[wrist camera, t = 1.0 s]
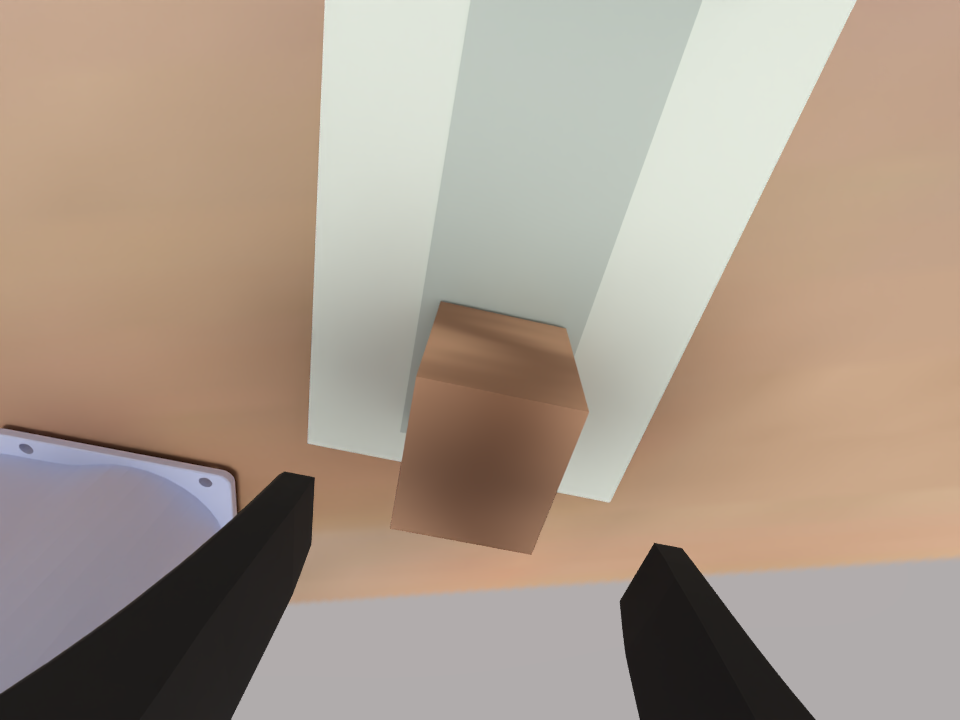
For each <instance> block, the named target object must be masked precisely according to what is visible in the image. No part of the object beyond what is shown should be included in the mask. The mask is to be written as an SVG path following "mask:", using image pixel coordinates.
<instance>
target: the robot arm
mask: <svg viewBox="0 0 960 720" xmlns="http://www.w3.org/2000/svg"><path fill="white" fill-rule="evenodd" d="M314 480H315V477H310V476H305V475H299V474H294V473H289V472H283V473H281V474H279V475H278V476H277V477H276V478H275V479H274V480H273V481H272V482H271V483H270V484H269V485H268V486H267V487H266V488H265V489H264V490H263V491H262V492H261V493H260V494H259V495H258V496H256V497H255V498H254V499H253V500H252V501H251V502H250V503H249V504H248V505H247V506H246V507H245V508H244V509H242V510H241V511H240V512H239V513H238V514H237V506H236V490H235V480H234V477H233V476H232V475H231V474H230V473H229V472H227V471H225V470H221V469H216V468H210V467H205V466H200V465H194V464H189V463H184V462H179V461H173V460H168V459H163V458H158V457H152V456H147V455H142V454H136V453H131V452H126V451H121V450H115V449H110V448H105V447H99V446H94V445H89V444H84V443H78V442H73V441H68V440H63V439H57V438H52V437H47V436H41V435H36V434H31V433H26V432H20V431H15V430H10V429H2V428H0V720H231V718H232V716H233V714H234V712H235V710H236V708H237V706H238V704H239V702H240V700H241V698H242V696H243V694H244V692H245V690H246V688H247V686H248V684H249V682H250V680H251V678H252V676H253V674H254V672H255V670H256V668H257V665H258V664H259V662H260V660H261V657H262V656H263V654H264V652H265V650H266V648H267V645H268V643H269V641H270V639H271V637H272V635H273V633H274V631H275V629H276V627H277V625H278V623H279V621H280V619H281V617H282V615H283V613H284V611H285V609H286V607H287V605H288V603H289V601H290V599H291V597H292V594H293V592H294V589H295V587H296V584H297V581H298V579H299V576H300V574H301V571H302V568H303V565H304V563H305V560H306V557H307V555H308V552H309V549H310V546H311V540H312V520H313V500H314ZM620 609H621V619H622V629H623V638H624V646H625V654H626V659H627V664H628V668H629V673H630V678H631V682H632V686H633V691H634V696H635V700H636V704H637V709H638V713H639V718H640V720H815V719H814V717H813V716H812V715H811V714H810V713H809V711H808V710H807V709H806V708H805V707H804V705H803V704H802V703H801V702H800V701H799V699H798V698H797V697H796V696H795V694H794V693H793V692H792V691H791V690H790V689H789V687H788V686H787V685H786V683H785V682H784V681H783V680H782V679H781V677H780V676H779V675H778V673H777V672H776V671H775V670H774V668H773V667H772V666H771V665H770V664H769V662H768V661H767V660H766V658H765V657H764V656H763V654H762V653H761V652H760V651H759V649H758V648H757V647H756V646H755V644H754V643H753V642H752V640H751V639H750V638H749V636H748V635H747V634H746V632H745V631H744V630H743V628H742V627H741V626H740V624H739V623H738V622H737V621H736V619H735V618H734V616H733V615H732V614H731V613H730V611H729V610H728V608H727V607H726V606H725V605H724V603H723V602H722V600H721V599H720V598H719V596H718V595H717V594H716V592H715V591H714V590H713V588H712V587H711V586H710V584H709V583H708V582H707V580H706V579H705V578H704V576H703V575H702V574H701V572H700V571H699V570H698V568H697V567H696V566H695V564H694V563H693V562H692V560H691V559H690V558H689V557H688V555H687V554H686V553H685V552H684V550H683V549H682V548H678V547H673V546H667V545H662V544H657V543H654V545H653V546H652V548H651V550H650V551H649V553H648V555H647V556H646V558H645V560H644V561H643V563H642V565H641V566H640V568H639V570H638V571H637V573H636V575H635V576H634V578H633V580H632V582H631V583H630V585H629V587H628V588H627V590H626V592H625V593H624V595H623V597H622V598H621V600H620Z"/></svg>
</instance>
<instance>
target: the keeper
mask: <svg viewBox="0 0 960 720" xmlns="http://www.w3.org/2000/svg"><path fill="white" fill-rule="evenodd" d="M588 414H589V410H588V406H587V402H586V399H585V395H584V391H583V388H582V384H581V380H580V377H579V373H578V370H577V366H576V362H575V359H574V355H573V351H572V348H571V344H570V340H569V337H568V333H567V329H566V328H561V327H557V326H552V325H547V324H543V323H538V322H534V321H529V320H525V319H520V318H515V317H511V316H506V315H502V314H497V313H492V312H488V311H483V310H479V309H474V308H469V307H465V306H460V305H456V304H451V303H446V302H442V301H441V302H440V305H439V308H438V311H437V314H436V317H435V320H434V323H433V326H432V329H431V332H430V336H429V339H428V342H427V345H426V348H425V351H424V354H423V357H422V360H421V363H420V366H419V369H418V372H417V375H416V380H415V386H414V392H413V398H412V403H411V409H410V415H409V421H408V427H407V433H406V438H405V444H404V450H403V456H402V462H401V467H400V473H399V479H398V485H397V491H396V497H395V502H394V508H393V514H392V520H391V526H390V529H396V530H401V531H407V532H412V533H417V534H423V535H428V536H433V537H439V538H444V539H450V540H455V541H460V542H466V543H471V544H476V545H482V546H487V547H493V548H498V549H503V550H509V551H514V552H520V553H525V554H530V555H531V554H532V552H533V550H534V547H535V545H536V542H537V540H538V537H539V535H540V532H541V530H542V527H543V525H544V522H545V520H546V518H547V515H548V513H549V510H550V508H551V505H552V503H553V500H554V498H555V495H556V493H557V490H558V488H559V486H560V483H561V481H562V478H563V476H564V473H565V471H566V468H567V466H568V463H569V461H570V458H571V456H572V454H573V451H574V449H575V446H576V444H577V441H578V439H579V436H580V434H581V431H582V429H583V426H584V424H585V422H586V419H587V417H588Z"/></svg>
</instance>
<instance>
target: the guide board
mask: <svg viewBox="0 0 960 720" xmlns="http://www.w3.org/2000/svg"><path fill="white" fill-rule="evenodd" d="M855 2H856V0H325V12H324V37H323V63H322V88H321V113H320V139H319V164H318V189H317V215H316V240H315V266H314V291H313V316H312V342H311V367H310V392H309V418H308V443H307V444H312V445H317V446H323V447H328V448H333V449H338V450H343V451H348V452H353V453H358V454H364V455H369V456H374V457H379V458H384V459H389V460H394V461H399V462H402V456H403V450H404V444H405V438H406V433H407V427H408V421H409V415H410V409H411V403H412V398H413V392H414V386H415V380H416V375H417V372H418V369H419V366H420V363H421V360H422V357H423V354H424V351H425V348H426V345H427V342H428V339H429V336H430V332H431V329H432V326H433V323H434V320H435V317H436V314H437V311H438V308H439V305H440V302H441V301H442V302H446V303H451V304H456V305H460V306H465V307H469V308H474V309H479V310H483V311H488V312H492V313H497V314H502V315H506V316H511V317H515V318H520V319H525V320H529V321H534V322H538V323H543V324H547V325H552V326H557V327H561V328H566V329H567V333H568V337H569V340H570V344H571V348H572V351H573V355H574V359H575V362H576V366H577V370H578V373H579V377H580V380H581V384H582V388H583V391H584V395H585V399H586V402H587V406H588V410H589V414H588V417H587V419H586V422H585V424H584V426H583V429H582V431H581V434H580V436H579V439H578V441H577V444H576V446H575V449H574V451H573V454H572V456H571V458H570V461H569V463H568V466H567V468H566V471H565V473H564V476H563V478H562V481H561V483H560V486H559V488H558V490H557V492H558V493H563V494H569V495H574V496H579V497H584V498H589V499H594V500H599V501H604V502H610V501H611V499H612V497H613V495H614V493H615V491H616V489H617V487H618V485H619V483H620V481H621V479H622V477H623V475H624V473H625V471H626V469H627V467H628V464H629V462H630V460H631V458H632V456H633V454H634V452H635V450H636V448H637V446H638V444H639V442H640V440H641V438H642V436H643V434H644V432H645V430H646V428H647V426H648V424H649V422H650V420H651V418H652V416H653V414H654V412H655V410H656V407H657V405H658V403H659V401H660V399H661V397H662V395H663V393H664V391H665V389H666V387H667V385H668V383H669V381H670V379H671V377H672V375H673V373H674V371H675V369H676V367H677V365H678V363H679V361H680V359H681V357H682V355H683V352H684V350H685V348H686V346H687V344H688V342H689V340H690V338H691V336H692V334H693V332H694V330H695V328H696V326H697V324H698V322H699V320H700V318H701V316H702V314H703V312H704V310H705V308H706V306H707V304H708V302H709V300H710V298H711V295H712V293H713V291H714V289H715V287H716V285H717V283H718V281H719V279H720V277H721V275H722V273H723V271H724V269H725V267H726V265H727V263H728V261H729V259H730V257H731V255H732V253H733V251H734V249H735V247H736V245H737V243H738V241H739V238H740V236H741V234H742V232H743V230H744V228H745V226H746V224H747V222H748V220H749V218H750V216H751V214H752V212H753V210H754V208H755V206H756V204H757V202H758V200H759V198H760V196H761V194H762V192H763V190H764V188H765V186H766V183H767V181H768V179H769V177H770V175H771V173H772V171H773V169H774V167H775V165H776V163H777V161H778V159H779V157H780V155H781V153H782V151H783V149H784V147H785V145H786V143H787V141H788V139H789V137H790V135H791V133H792V131H793V129H794V126H795V124H796V122H797V120H798V118H799V116H800V114H801V112H802V110H803V108H804V106H805V104H806V102H807V100H808V98H809V96H810V94H811V92H812V90H813V88H814V86H815V84H816V82H817V80H818V78H819V76H820V74H821V72H822V69H823V67H824V65H825V63H826V61H827V59H828V57H829V55H830V53H831V51H832V49H833V47H834V45H835V43H836V41H837V39H838V37H839V35H840V33H841V31H842V29H843V27H844V25H845V23H846V21H847V19H848V17H849V14H850V12H851V10H852V8H853V6H854V4H855Z"/></svg>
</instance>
